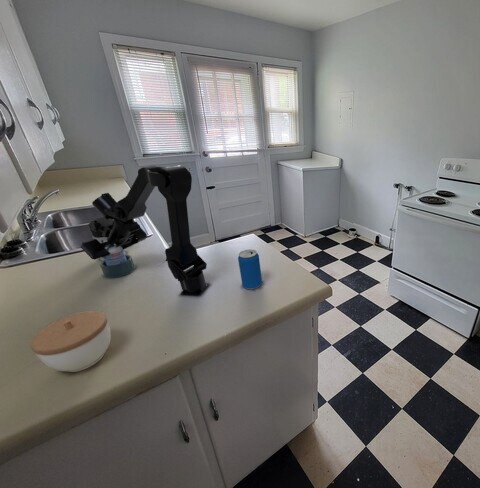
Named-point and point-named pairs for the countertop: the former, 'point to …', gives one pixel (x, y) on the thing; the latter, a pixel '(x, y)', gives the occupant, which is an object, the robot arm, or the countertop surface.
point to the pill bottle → (115, 256)
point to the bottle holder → (118, 268)
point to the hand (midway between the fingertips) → (111, 253)
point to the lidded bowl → (73, 341)
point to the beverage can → (250, 269)
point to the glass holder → (99, 238)
